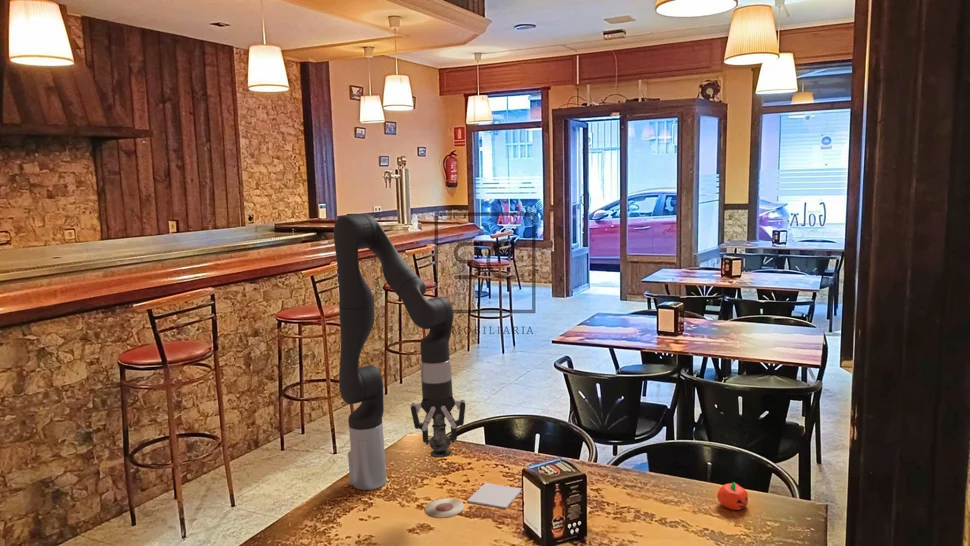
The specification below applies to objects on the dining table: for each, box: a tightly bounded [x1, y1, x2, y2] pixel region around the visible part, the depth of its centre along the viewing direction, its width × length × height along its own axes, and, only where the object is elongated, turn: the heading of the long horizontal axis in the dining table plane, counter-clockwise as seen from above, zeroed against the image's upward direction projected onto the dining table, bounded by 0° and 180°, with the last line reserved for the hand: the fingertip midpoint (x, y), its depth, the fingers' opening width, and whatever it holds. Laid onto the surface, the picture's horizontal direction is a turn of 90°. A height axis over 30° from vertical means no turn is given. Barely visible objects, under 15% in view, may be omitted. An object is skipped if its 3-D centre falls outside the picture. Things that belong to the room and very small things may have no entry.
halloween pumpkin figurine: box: [716, 481, 749, 511], centre depth 165 cm, size 7×8×6 cm
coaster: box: [424, 497, 465, 519], centre depth 172 cm, size 10×10×1 cm
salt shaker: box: [428, 414, 452, 459], centre depth 169 cm, size 6×6×12 cm
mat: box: [466, 482, 522, 509], centre depth 177 cm, size 11×11×1 cm
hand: (440, 442), depth 170 cm, fingers closed on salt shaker, 6 cm apart
